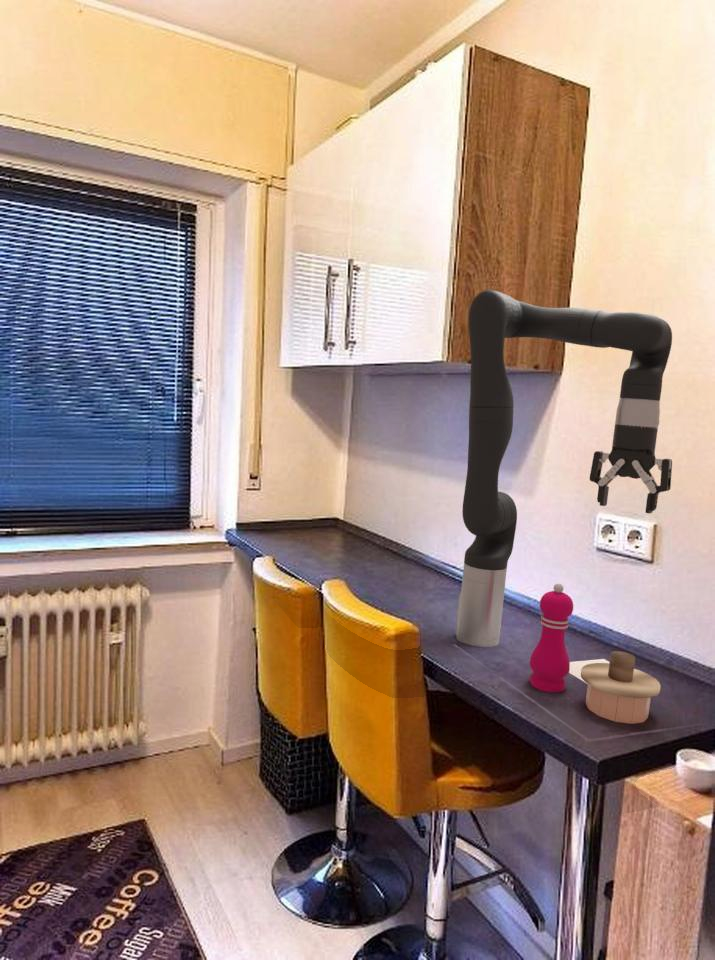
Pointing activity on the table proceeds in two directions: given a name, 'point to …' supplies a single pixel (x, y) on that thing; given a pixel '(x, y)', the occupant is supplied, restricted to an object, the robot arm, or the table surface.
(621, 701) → the bowl
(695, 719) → the table surface
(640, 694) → the lid
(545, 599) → the pepper mill
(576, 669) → the mat
